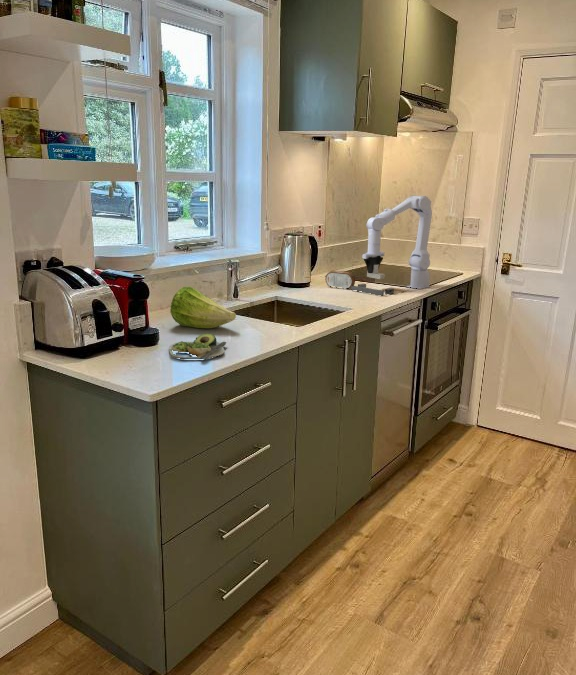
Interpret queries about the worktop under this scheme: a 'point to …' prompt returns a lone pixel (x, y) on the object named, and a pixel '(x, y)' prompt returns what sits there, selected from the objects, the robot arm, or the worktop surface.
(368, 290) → the vise jaws
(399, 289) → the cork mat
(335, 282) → the tin
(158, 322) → the worktop surface
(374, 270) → the grey t-shaped block
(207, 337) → the salad plate
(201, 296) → the lettuce
